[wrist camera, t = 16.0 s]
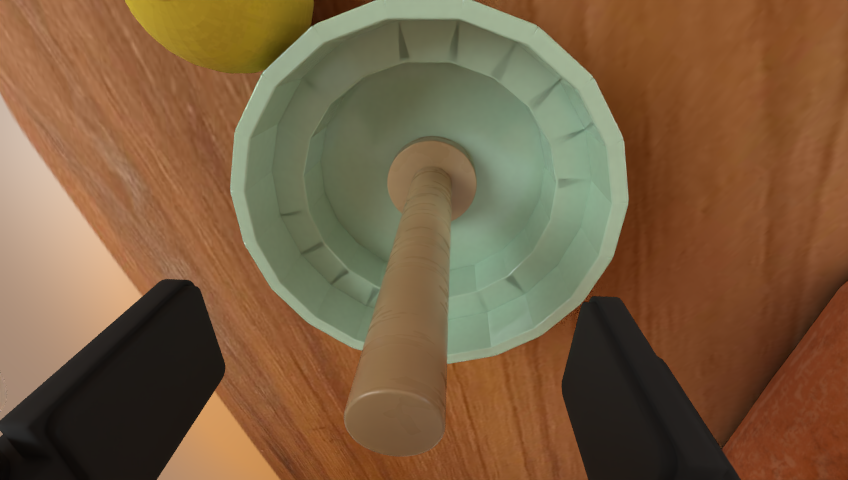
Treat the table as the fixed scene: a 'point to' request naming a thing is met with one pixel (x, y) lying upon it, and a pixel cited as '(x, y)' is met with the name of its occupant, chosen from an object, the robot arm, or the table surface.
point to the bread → (801, 409)
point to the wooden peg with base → (412, 305)
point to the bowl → (417, 117)
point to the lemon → (225, 29)
